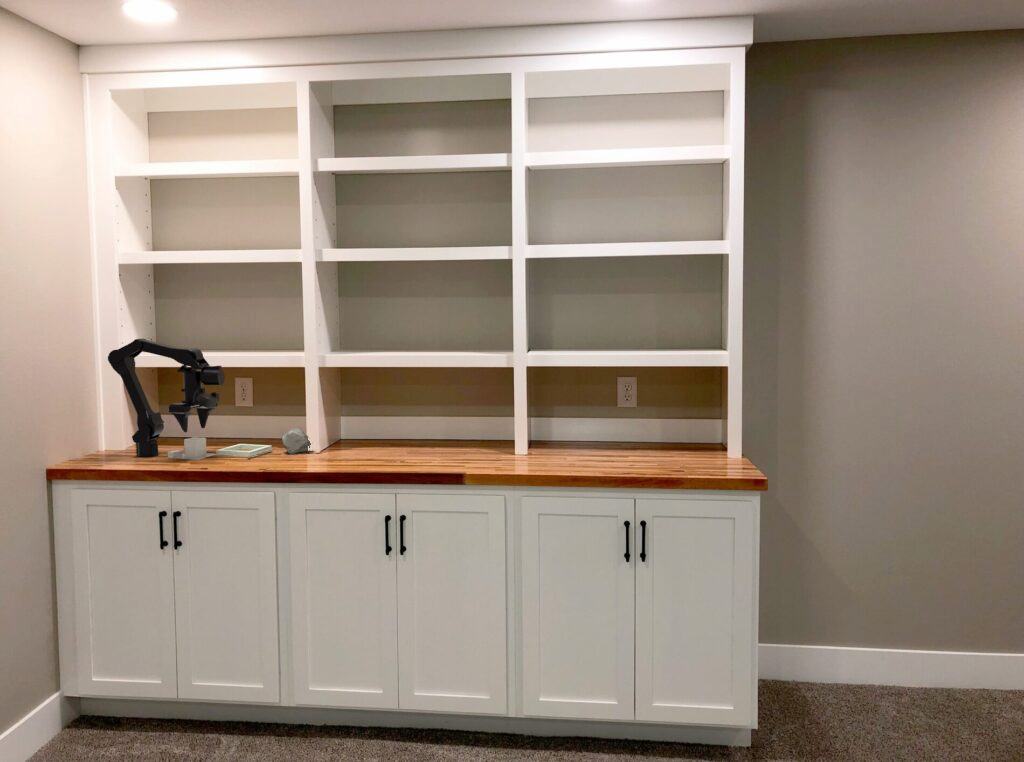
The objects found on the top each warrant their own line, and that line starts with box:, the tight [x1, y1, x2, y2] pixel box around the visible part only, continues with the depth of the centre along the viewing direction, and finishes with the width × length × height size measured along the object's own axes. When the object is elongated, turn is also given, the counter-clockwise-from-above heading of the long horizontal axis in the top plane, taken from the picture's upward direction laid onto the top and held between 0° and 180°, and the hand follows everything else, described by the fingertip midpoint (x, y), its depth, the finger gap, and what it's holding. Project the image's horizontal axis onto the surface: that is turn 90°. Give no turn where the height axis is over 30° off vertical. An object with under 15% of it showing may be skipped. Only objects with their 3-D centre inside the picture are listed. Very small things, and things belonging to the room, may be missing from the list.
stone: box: [281, 427, 311, 455], centre depth 302 cm, size 10×10×10 cm
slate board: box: [167, 447, 216, 461], centre depth 292 cm, size 13×12×3 cm
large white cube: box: [183, 436, 207, 458], centre depth 291 cm, size 5×5×6 cm
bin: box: [215, 443, 273, 460], centre depth 298 cm, size 14×14×2 cm
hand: (194, 430), depth 290 cm, fingers open, 9 cm apart
